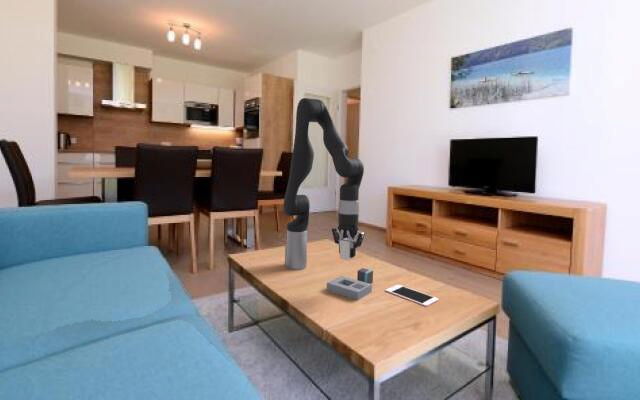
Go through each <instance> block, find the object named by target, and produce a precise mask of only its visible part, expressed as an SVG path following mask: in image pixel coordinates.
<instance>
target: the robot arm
mask: <svg viewBox="0 0 640 400" xmlns="http://www.w3.org/2000/svg"><path fill="white" fill-rule="evenodd" d="M310 123H317V125H319V126H320V128H321V130H322V131H323V134H322V136H323V137H322V140H323V144H324V146H325V149H326V150H327V151H328V153H329V155H330V156H331V160H332V162H333V166H334V170H335V172H336V173H337V174H338V176H340V177H341V178H347V181H346V182H345V183H343V184H341V185H340V187H339V203H338V216H337V217H338V219H337V220H338V221H337V222H338V223H337V224H338V226H337V227H332V228H331V232H332V236H333V240H334V243H335V244H337V245H338V254H339V255H340V240H344V239H348V240H349V242H350V247H351V248H350V258H353V257H354V258H355V257H356V251H357V249H358V248H360V247H361V246H362V243H363V240H364V239H365V235H366V233H365V232H363V231H361V230H359V227H358V226H359V216H360V215H359V214H360V213H359V212H360V205H359V204H360V203H359V202H360V201H359V200H360V199H359V195H360V194H359V193H360V192H359V190H360V187H361V183H362V181H363V177H364V172H365V168H364V167H365V166H364V163H363V161H362V160H361V159H359V158H356V157H355V158H351V157H350V158H349V157H347V156H349V153H350V150H349V148H348V146H347V144H346V142H345V141H344V140H343V138H342V136H341V135H340V134H339V132H338V130H337V128H336V126H335V124H334V121H333V119H332V116H331V115H330V111H329V109H328V108H327V105H326V104H325V102H324V101H323V100H321V99H318V98H317V99H316V98H309V97H303V98H301V99H300V100H299V102H298V103H297V107H296V114H295V132H294V133H295V134H294V140H293V141H294V142H293V149H292V155H291V161H290V170H289V175H288V177H289V178H288V182H287V186H286V191H285V194H284V199H283V212H284V214H285V215H286V216H288V217H294V216H296V217H295V218H294V219H293V220H292V221H290V222H288V223H287V224H286V245H284V246H285V247H284V266H285V267H286V268H288V269H289V270H303V269H306V268H307V258H308V257H307V256H308V255H307V254H308V253H307V252H308V226H309V221H310V209H311V208H310V207H311V206H310V200H309V199H310V198H309V197H308V196H307V195H305V194H298V191H299V189H300V187H301V185H302V184H303V182H304V181H305V180H306V178H307V177H308V176H309V175H310V173H311V171H312V170H313V165H314V164H313V163H314V158H315V157H314V156H315V152H314V149H313V146H312V143H311V141H310V137H309V125H310ZM356 235H357V236H356ZM354 258H353V259H354Z"/></svg>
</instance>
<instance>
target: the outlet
mask: <svg viewBox="0 0 640 400" xmlns="http://www.w3.org/2000/svg"><path fill="white" fill-rule="evenodd" d="M372 288H373V283H371V284H369V283H365V282H362V281H358V280H357V279H354V278H350V277H349V276H348V277H347V276H344V275H340V276H338V277H336V278H334V279H331V280H329V281H327V282H326V291H327V292H328V291H329V292H330V293H334V294H338V295H341V296H344V297H346V298H350V299H354V300H356V301H359V300H361V299H362V298H364V297H365V296H368V295H369V294H370V293H372V290H373V289H372Z"/></svg>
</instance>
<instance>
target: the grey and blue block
mask: <svg viewBox="0 0 640 400" xmlns="http://www.w3.org/2000/svg"><path fill="white" fill-rule="evenodd" d="M356 275H357V276H356V280H358V281H362V282H365V283H369V284H373V283H374V270H372V269H368V268H365V267H362V268H360V269H358V270H357V274H356Z"/></svg>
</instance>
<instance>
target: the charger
mask: <svg viewBox="0 0 640 400" xmlns="http://www.w3.org/2000/svg"><path fill="white" fill-rule="evenodd" d="M350 248H351V247H350V242H349V240H348V239H344V240H340V254H339V259H342V260H346V261H350V260H353V259H355V256H354V257H353V258H350Z"/></svg>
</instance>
